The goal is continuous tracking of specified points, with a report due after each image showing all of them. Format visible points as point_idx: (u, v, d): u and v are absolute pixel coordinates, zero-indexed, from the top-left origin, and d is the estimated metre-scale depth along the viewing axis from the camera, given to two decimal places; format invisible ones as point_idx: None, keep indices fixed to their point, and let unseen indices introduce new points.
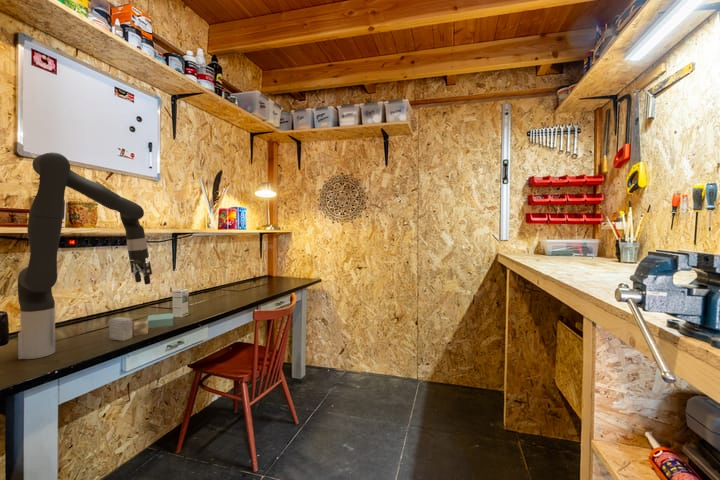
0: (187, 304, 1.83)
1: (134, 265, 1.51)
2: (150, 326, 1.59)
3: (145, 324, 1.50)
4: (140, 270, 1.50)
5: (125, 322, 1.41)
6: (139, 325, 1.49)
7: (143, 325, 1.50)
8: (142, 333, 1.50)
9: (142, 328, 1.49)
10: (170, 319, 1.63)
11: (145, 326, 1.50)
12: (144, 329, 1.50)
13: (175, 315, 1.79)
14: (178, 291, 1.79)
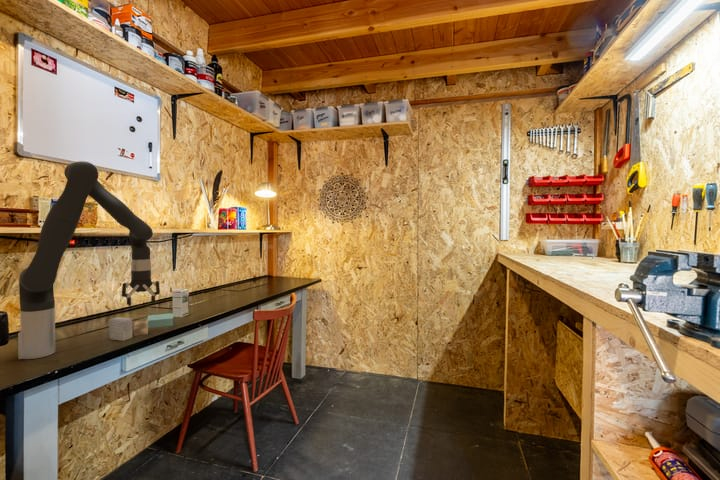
0: (187, 304, 1.83)
1: (138, 286, 1.49)
2: (150, 326, 1.59)
3: (145, 324, 1.50)
4: (149, 290, 1.51)
5: (125, 322, 1.41)
6: (139, 325, 1.49)
7: (143, 325, 1.50)
8: (142, 333, 1.50)
9: (142, 328, 1.49)
10: (170, 319, 1.64)
11: (145, 326, 1.50)
12: (144, 329, 1.50)
13: (175, 315, 1.79)
14: (178, 291, 1.79)
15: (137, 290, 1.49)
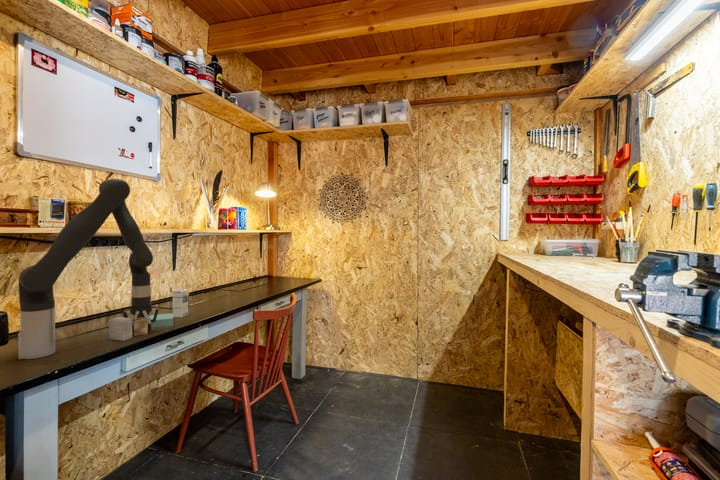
0: (187, 304, 1.83)
1: (138, 312, 1.49)
2: None
3: (145, 324, 1.50)
4: (147, 317, 1.51)
5: (125, 322, 1.41)
6: (139, 325, 1.49)
7: (143, 325, 1.50)
8: (142, 333, 1.50)
9: (142, 328, 1.49)
10: (170, 319, 1.64)
11: (145, 326, 1.50)
12: (144, 329, 1.50)
13: (175, 315, 1.79)
14: (178, 291, 1.79)
15: (139, 316, 1.50)
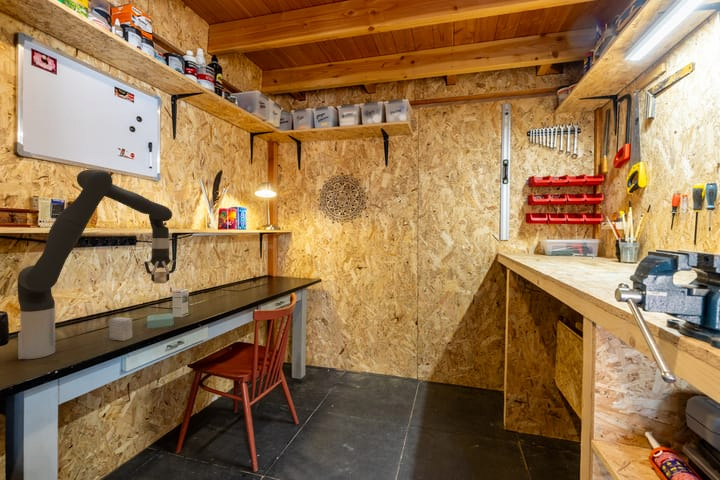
0: (187, 304, 1.83)
1: (158, 263, 1.63)
2: (150, 326, 1.59)
3: (164, 273, 1.64)
4: (166, 268, 1.65)
5: (125, 322, 1.41)
6: (159, 274, 1.63)
7: (162, 274, 1.64)
8: (161, 281, 1.64)
9: (161, 277, 1.63)
10: (170, 319, 1.64)
11: (164, 275, 1.64)
12: (163, 278, 1.64)
13: (175, 315, 1.79)
14: (178, 291, 1.79)
15: (158, 266, 1.64)
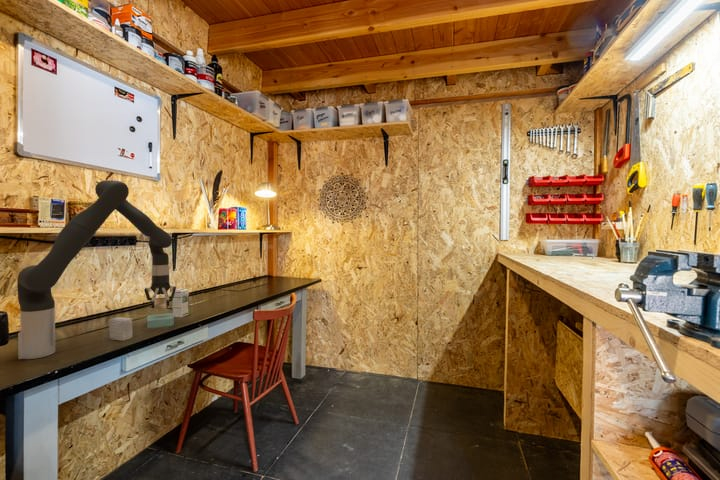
0: (187, 304, 1.83)
1: (158, 289, 1.63)
2: (151, 326, 1.59)
3: (164, 300, 1.64)
4: (166, 294, 1.65)
5: (125, 322, 1.41)
6: (159, 301, 1.63)
7: (162, 301, 1.64)
8: (161, 308, 1.64)
9: (161, 303, 1.64)
10: (171, 319, 1.64)
11: (164, 302, 1.64)
12: (163, 304, 1.64)
13: (175, 315, 1.79)
14: (178, 291, 1.79)
15: (158, 292, 1.64)
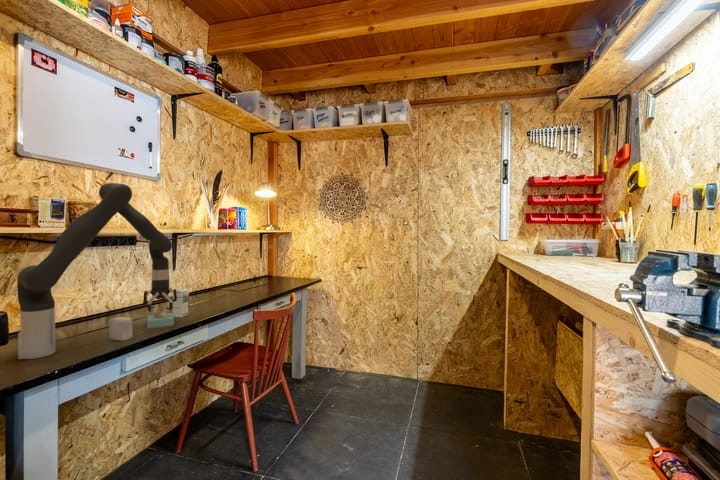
0: (187, 304, 1.83)
1: (157, 294, 1.63)
2: (151, 326, 1.59)
3: (164, 308, 1.64)
4: (168, 297, 1.66)
5: (125, 322, 1.41)
6: (158, 309, 1.63)
7: (162, 309, 1.64)
8: (161, 316, 1.64)
9: (161, 312, 1.64)
10: (171, 319, 1.64)
11: (164, 310, 1.64)
12: (163, 313, 1.64)
13: (175, 315, 1.79)
14: (178, 291, 1.79)
15: (157, 297, 1.64)
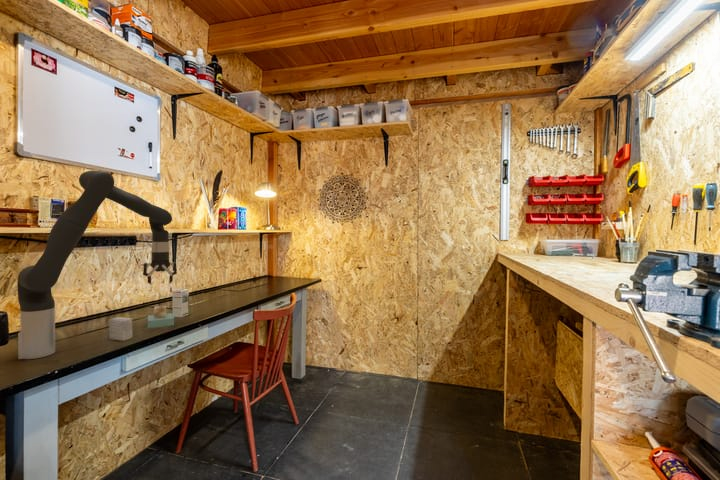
0: (187, 304, 1.83)
1: (157, 266, 1.63)
2: (151, 326, 1.60)
3: (164, 308, 1.65)
4: (168, 270, 1.65)
5: (125, 322, 1.41)
6: (158, 309, 1.63)
7: (162, 309, 1.64)
8: (161, 316, 1.64)
9: (161, 312, 1.64)
10: (171, 319, 1.64)
11: (164, 310, 1.65)
12: (163, 313, 1.64)
13: (175, 315, 1.79)
14: (178, 291, 1.79)
15: (157, 270, 1.64)
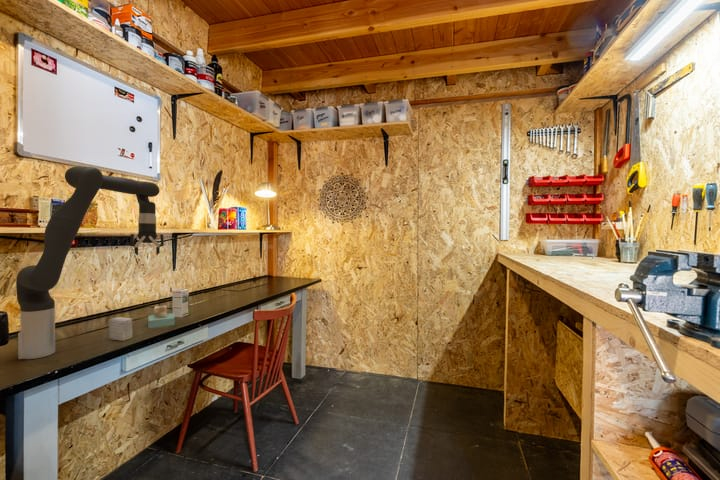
0: (187, 304, 1.83)
1: (144, 237, 1.66)
2: (152, 326, 1.60)
3: (164, 308, 1.65)
4: (155, 241, 1.68)
5: (125, 322, 1.41)
6: (159, 309, 1.64)
7: (162, 309, 1.64)
8: (161, 316, 1.64)
9: (161, 312, 1.64)
10: (172, 319, 1.64)
11: (164, 310, 1.65)
12: (163, 313, 1.65)
13: (175, 315, 1.79)
14: (178, 291, 1.79)
15: (144, 241, 1.67)
